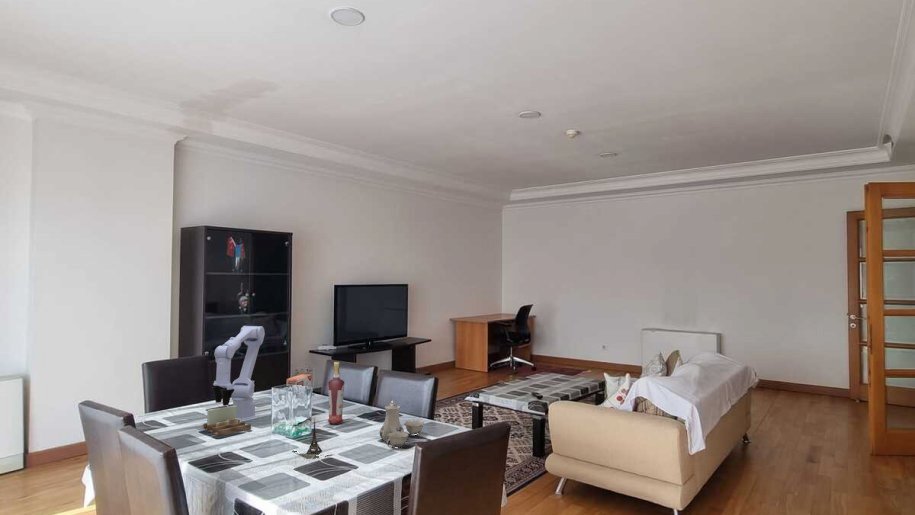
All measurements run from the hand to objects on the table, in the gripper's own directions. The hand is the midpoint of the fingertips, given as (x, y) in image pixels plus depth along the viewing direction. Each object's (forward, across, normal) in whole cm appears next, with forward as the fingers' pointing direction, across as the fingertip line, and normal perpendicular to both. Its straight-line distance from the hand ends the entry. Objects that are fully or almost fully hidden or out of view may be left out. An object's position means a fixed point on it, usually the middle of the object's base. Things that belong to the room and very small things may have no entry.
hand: (222, 403), depth 236 cm
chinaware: (+11, +68, +44) cm, 82 cm away
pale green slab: (+10, 0, 0) cm, 10 cm away
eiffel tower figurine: (+12, +58, +10) cm, 60 cm away
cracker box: (+10, +14, +29) cm, 34 cm away
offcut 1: (+10, +5, -2) cm, 11 cm away
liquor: (+10, +28, +40) cm, 51 cm away
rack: (+10, +5, 0) cm, 11 cm away
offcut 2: (+10, +4, +3) cm, 11 cm away
